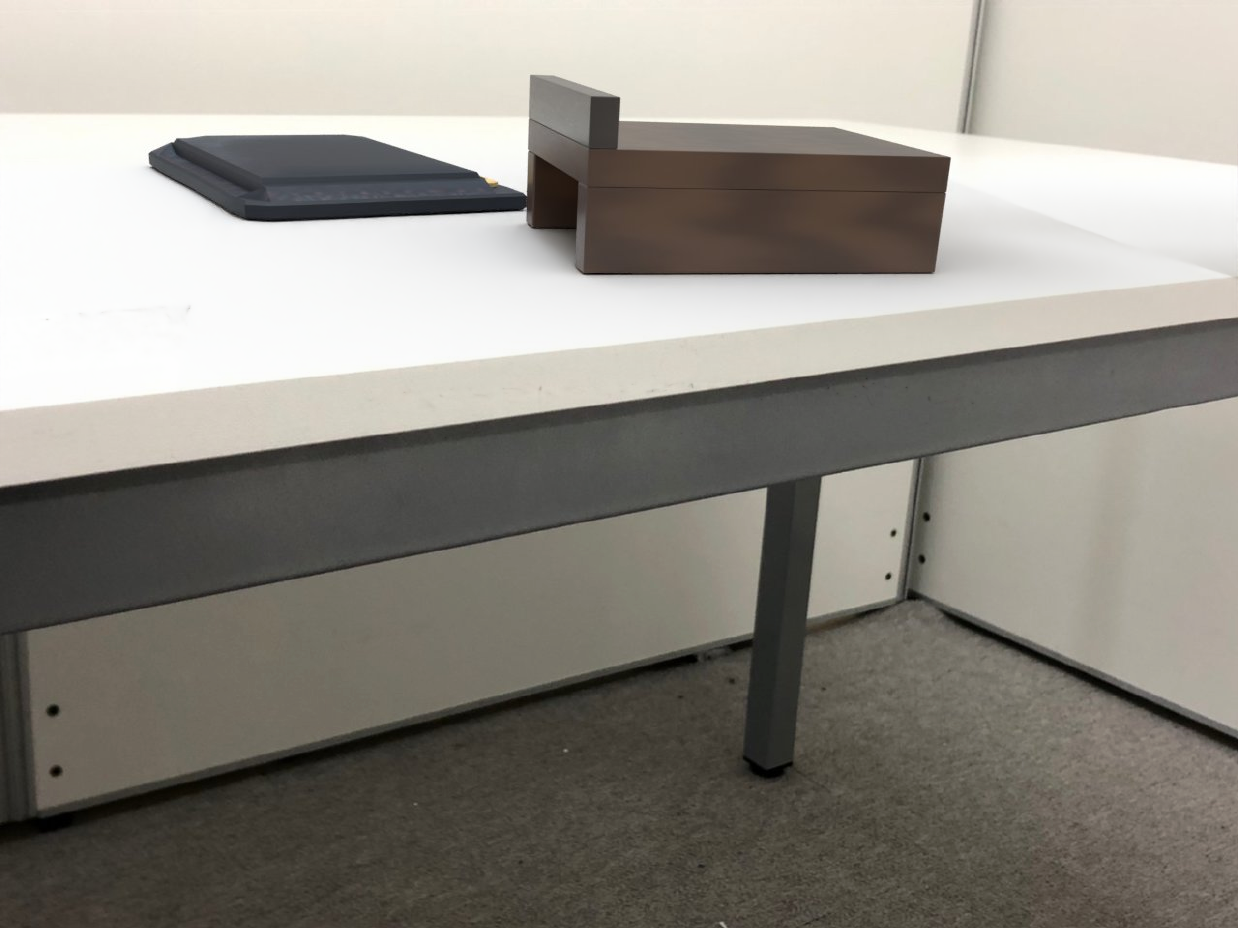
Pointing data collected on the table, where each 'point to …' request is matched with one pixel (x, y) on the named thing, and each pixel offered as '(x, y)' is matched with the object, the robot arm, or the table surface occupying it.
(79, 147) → the table surface
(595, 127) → the shelf
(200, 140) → the dark grey flat slab
